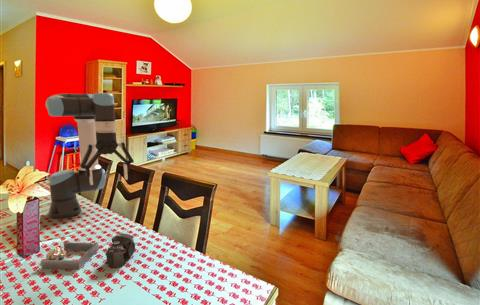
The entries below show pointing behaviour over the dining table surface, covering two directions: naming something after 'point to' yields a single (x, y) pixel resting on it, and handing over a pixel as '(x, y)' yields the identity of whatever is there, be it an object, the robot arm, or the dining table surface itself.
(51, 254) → the ornament
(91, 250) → the frame
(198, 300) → the dining table surface
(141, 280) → the dining table surface
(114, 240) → the camera
